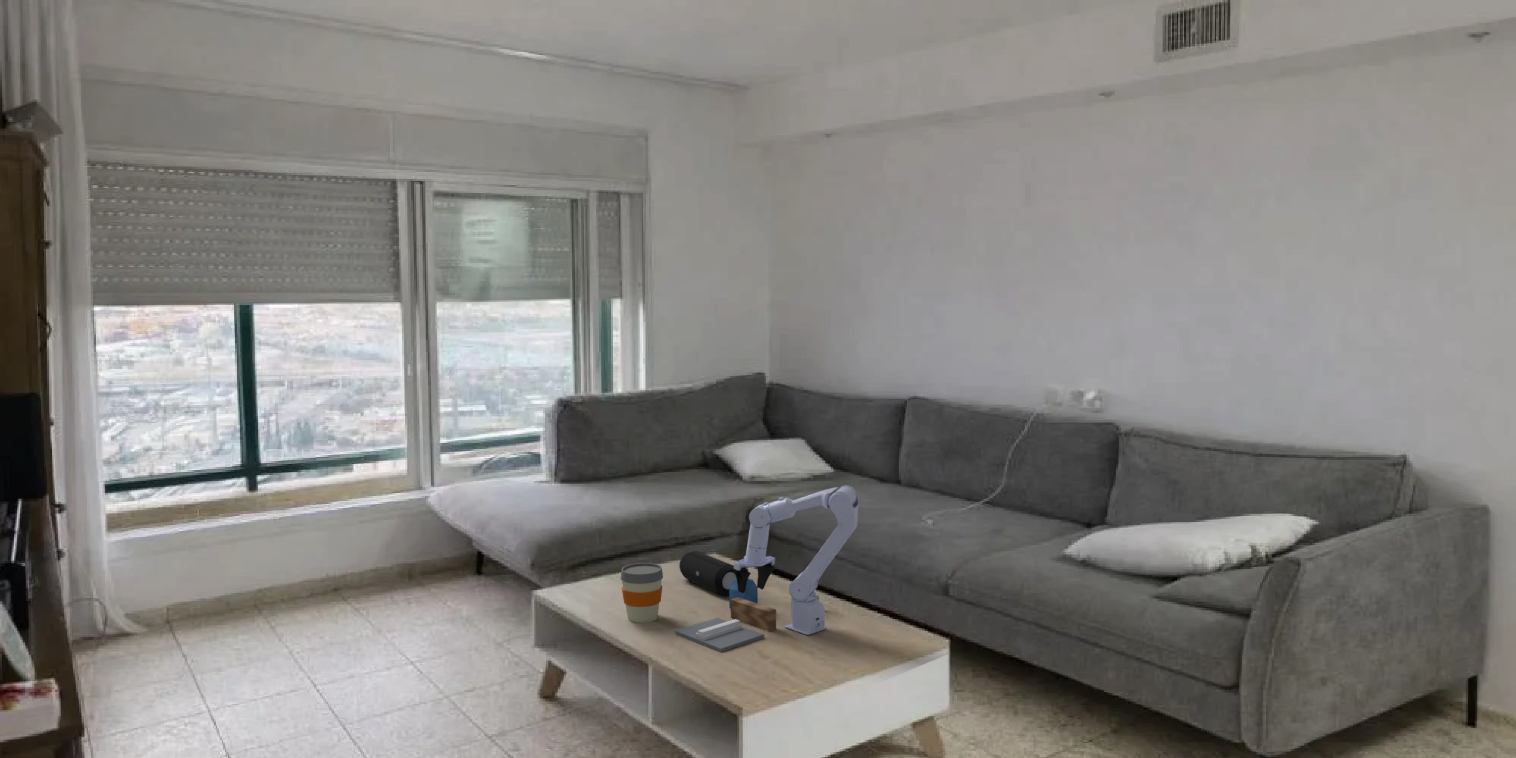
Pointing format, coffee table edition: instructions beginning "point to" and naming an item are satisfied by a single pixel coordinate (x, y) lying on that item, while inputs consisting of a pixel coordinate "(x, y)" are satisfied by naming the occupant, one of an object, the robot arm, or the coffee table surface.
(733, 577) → the portable speaker
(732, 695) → the coffee table surface
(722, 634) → the ridge stand
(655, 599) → the reusable coffee cup
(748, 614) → the walnut bar
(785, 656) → the coffee table surface
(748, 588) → the perfume bottle
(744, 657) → the coffee table surface
